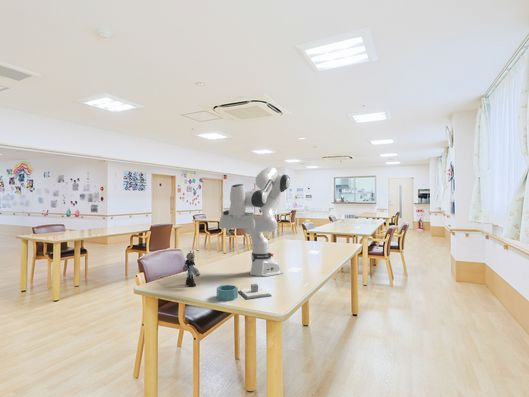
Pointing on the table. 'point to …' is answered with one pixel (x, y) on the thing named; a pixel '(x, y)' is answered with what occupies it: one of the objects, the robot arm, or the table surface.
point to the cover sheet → (256, 294)
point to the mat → (253, 297)
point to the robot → (190, 269)
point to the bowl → (227, 292)
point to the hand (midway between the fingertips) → (237, 236)
